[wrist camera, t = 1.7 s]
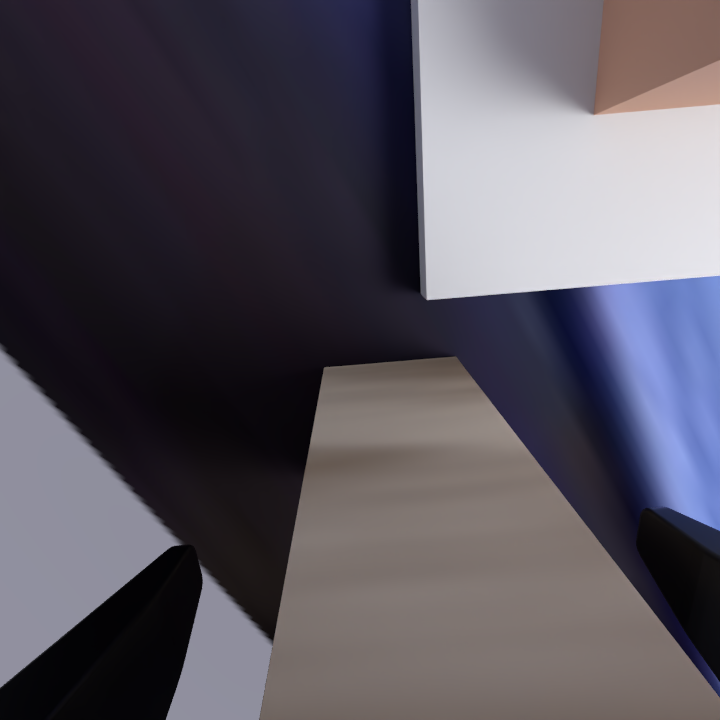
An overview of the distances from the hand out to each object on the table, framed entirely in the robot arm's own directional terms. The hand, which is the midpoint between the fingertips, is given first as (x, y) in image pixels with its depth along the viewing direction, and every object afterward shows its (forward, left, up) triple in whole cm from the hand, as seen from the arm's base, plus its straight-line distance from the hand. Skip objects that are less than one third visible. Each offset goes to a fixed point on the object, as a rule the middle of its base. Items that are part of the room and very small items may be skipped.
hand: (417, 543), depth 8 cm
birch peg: (0, 0, -5) cm, 5 cm away
